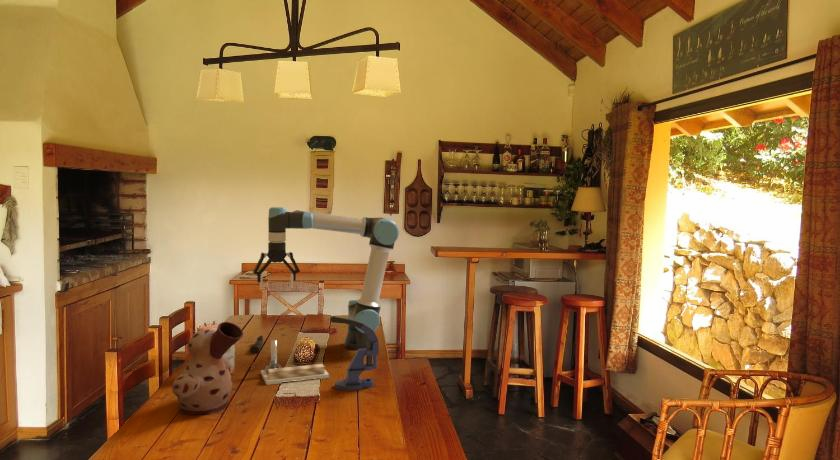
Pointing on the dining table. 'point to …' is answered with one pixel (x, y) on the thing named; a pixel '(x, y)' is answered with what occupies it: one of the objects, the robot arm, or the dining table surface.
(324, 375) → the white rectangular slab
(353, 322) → the hand press
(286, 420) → the dining table surface
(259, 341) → the hand tool
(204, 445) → the dining table surface
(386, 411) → the dining table surface
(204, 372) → the vessel
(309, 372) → the oak board
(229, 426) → the dining table surface
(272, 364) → the surface gauge
